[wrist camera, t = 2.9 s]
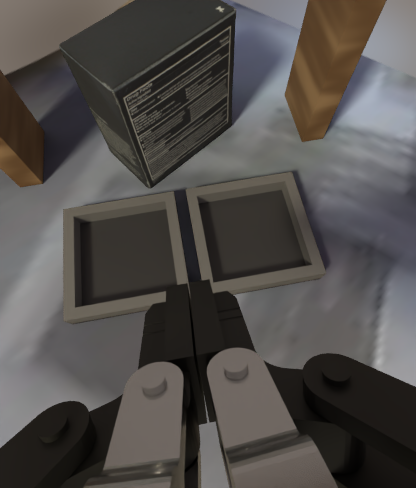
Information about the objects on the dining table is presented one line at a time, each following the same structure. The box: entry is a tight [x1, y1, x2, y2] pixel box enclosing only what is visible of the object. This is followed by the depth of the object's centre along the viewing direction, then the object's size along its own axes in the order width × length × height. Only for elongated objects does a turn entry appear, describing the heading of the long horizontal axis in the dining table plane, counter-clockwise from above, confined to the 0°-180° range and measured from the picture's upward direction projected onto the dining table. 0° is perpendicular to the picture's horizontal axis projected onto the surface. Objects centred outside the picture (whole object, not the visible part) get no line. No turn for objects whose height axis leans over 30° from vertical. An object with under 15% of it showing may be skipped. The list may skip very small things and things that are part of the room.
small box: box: [59, 0, 236, 188], centre depth 25 cm, size 11×6×10 cm, turn 134°
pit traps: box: [63, 172, 326, 324], centre depth 25 cm, size 19×9×2 cm, turn 100°
